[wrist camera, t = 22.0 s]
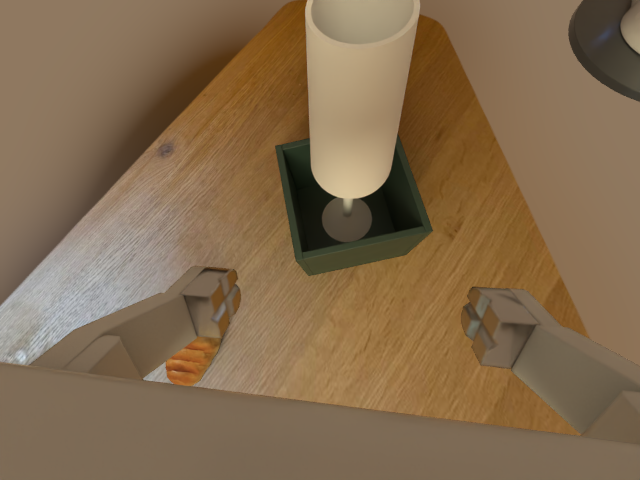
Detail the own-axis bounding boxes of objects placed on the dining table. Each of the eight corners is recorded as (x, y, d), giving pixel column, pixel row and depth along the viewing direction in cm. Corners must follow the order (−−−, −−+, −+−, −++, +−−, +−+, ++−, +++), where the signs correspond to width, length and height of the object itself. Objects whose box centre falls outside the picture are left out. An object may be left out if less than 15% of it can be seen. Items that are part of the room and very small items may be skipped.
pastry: (214, 388, 29) (196, 399, 26) (162, 378, 30) (137, 387, 27) (233, 307, 32) (219, 306, 28) (185, 299, 33) (165, 297, 29)
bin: (379, 169, 36) (393, 119, 26) (406, 254, 32) (433, 231, 23) (291, 189, 36) (275, 145, 27) (308, 276, 32) (295, 261, 23)
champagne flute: (371, 244, 32) (451, 67, 9) (319, 240, 33) (271, 69, 10) (372, 196, 34) (441, -50, 11) (323, 194, 35) (291, -42, 12)
